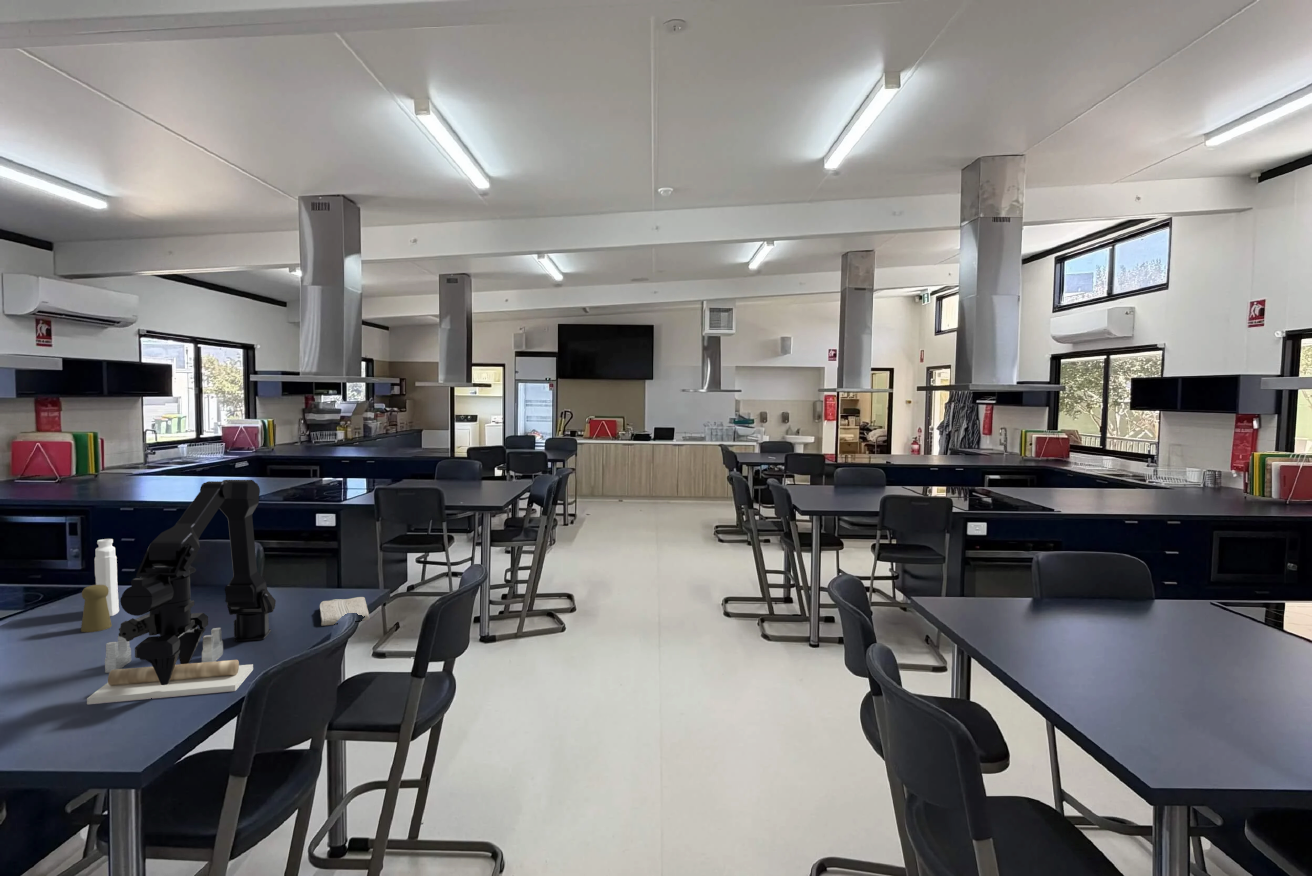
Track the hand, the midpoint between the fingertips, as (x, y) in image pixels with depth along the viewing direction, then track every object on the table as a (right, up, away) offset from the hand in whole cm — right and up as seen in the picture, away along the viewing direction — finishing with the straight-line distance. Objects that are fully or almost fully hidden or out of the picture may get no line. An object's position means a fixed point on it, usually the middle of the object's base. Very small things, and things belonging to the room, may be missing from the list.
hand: (175, 675), depth 135 cm
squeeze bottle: (-52, 0, +46) cm, 69 cm away
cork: (-44, 0, +34) cm, 56 cm away
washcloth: (+12, -1, +47) cm, 49 cm away
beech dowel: (0, 0, 0) cm, 1 cm away
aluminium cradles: (-10, -2, +12) cm, 16 cm away
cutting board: (0, -2, 0) cm, 2 cm away
